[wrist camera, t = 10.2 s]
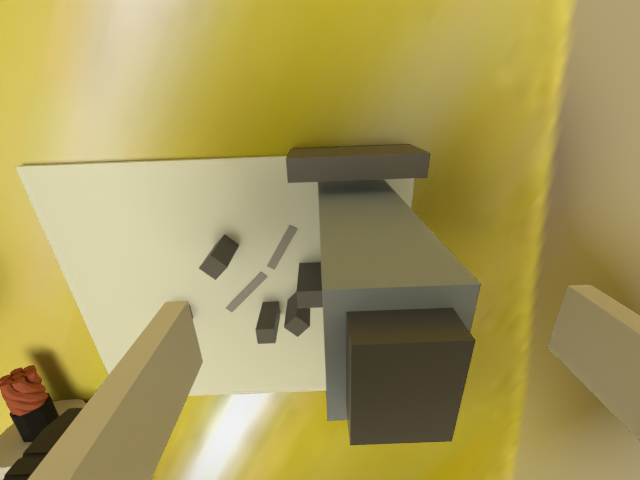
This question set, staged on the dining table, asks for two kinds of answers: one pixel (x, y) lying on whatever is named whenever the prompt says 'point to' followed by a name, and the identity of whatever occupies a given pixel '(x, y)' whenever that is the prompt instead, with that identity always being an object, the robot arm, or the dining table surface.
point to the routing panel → (167, 247)
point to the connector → (391, 317)
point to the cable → (27, 413)
